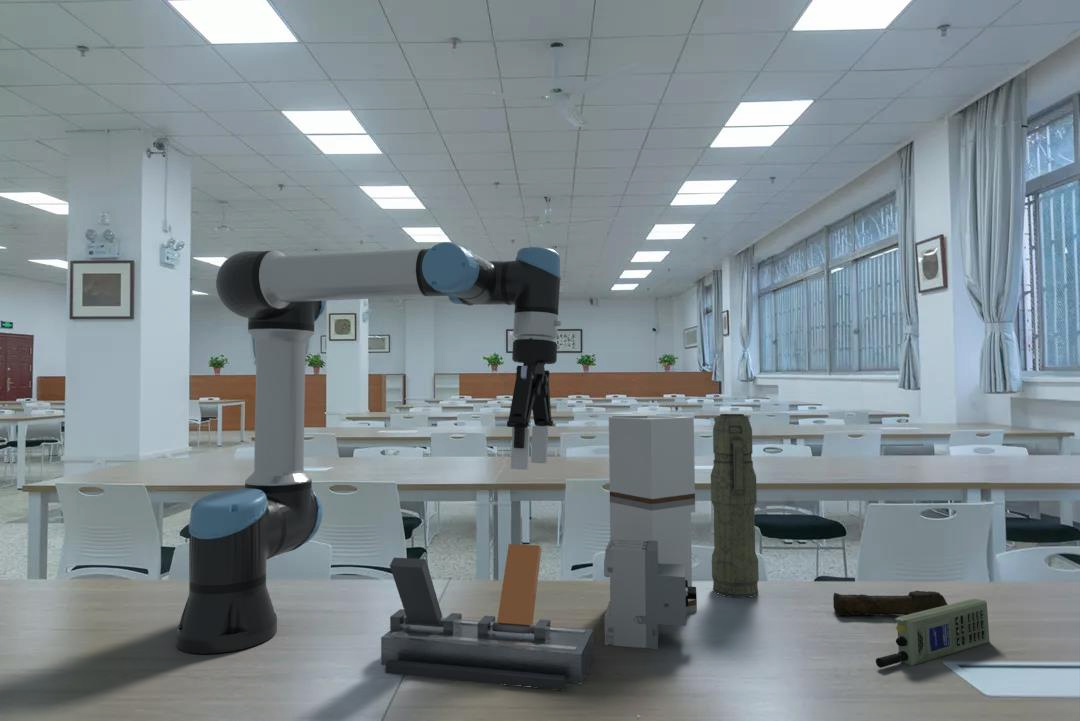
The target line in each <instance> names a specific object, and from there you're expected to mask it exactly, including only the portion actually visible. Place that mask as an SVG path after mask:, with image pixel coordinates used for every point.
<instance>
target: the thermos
mask: <svg viewBox="0 0 1080 721" xmlns="http://www.w3.org/2000/svg"><path fill="white" fill-rule="evenodd" d="M712 446H713V447H712V450H713V455H714V459H713V467H712V470H711V473H710V502H711V504H712V506H713V540H714V541H713V545H714V548H713V549H714V550H713V551H712V555H711V578H712V581H713V582H712V591H713V590H714V591H715V592H716V593H715V592H714V591H713V592H714V593H715V594H717V593H719V594H722V595H725V596H724V597H727V596H731V597H730V598H734V597H739V598H738V599H741V598H740V597H747V598H751V597H750V596H753V597H755V596H754V595H756V596H757V595H758V594H759V588H758V583H759V580H760V579H759V578H760V577H759V576H760V575H759V573H760V572H759V559H758V558H759V557H758V556H757V554H756V529H755V525H756V523H755V520H756V519H755V517H756V516H755V507H756V505H757V502H758V500H757V499H758V498H757V497H758V496H757V495H758V494H757V476H756V475H757V474H756V471H755V469H754V462H753V460H752V459H753V458H752V454H753V429H752V425H751V422H750V419H749V416H747V415H745V414H744V413H720V415H718V416H716V418H715V421H714V424H713V427H712ZM757 593H758V594H757ZM719 594H718V595H719ZM722 595H721V596H722Z"/></svg>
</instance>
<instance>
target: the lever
mask: <svg viewBox="0 0 1080 721" xmlns="http://www.w3.org/2000/svg"><path fill="white" fill-rule="evenodd" d="M541 556H542V547H541V545H539V544H518V543H517V544H514V543H508V548H507V555H506V560H505V567H504V574H503V579H502V580H503V581H502V588H501V594H500V601H499V607H498V613H497V621H496V622H497V623H493V626H492V630H493V631H496V632H509V633H522V634H534V627H535V626H532V625H534V624H533V622H534V616H535V606H536V600H537V598H536V597H537V591H538V590H537V589H538V581H539V573H540V565H541V558H542V557H541Z"/></svg>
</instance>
